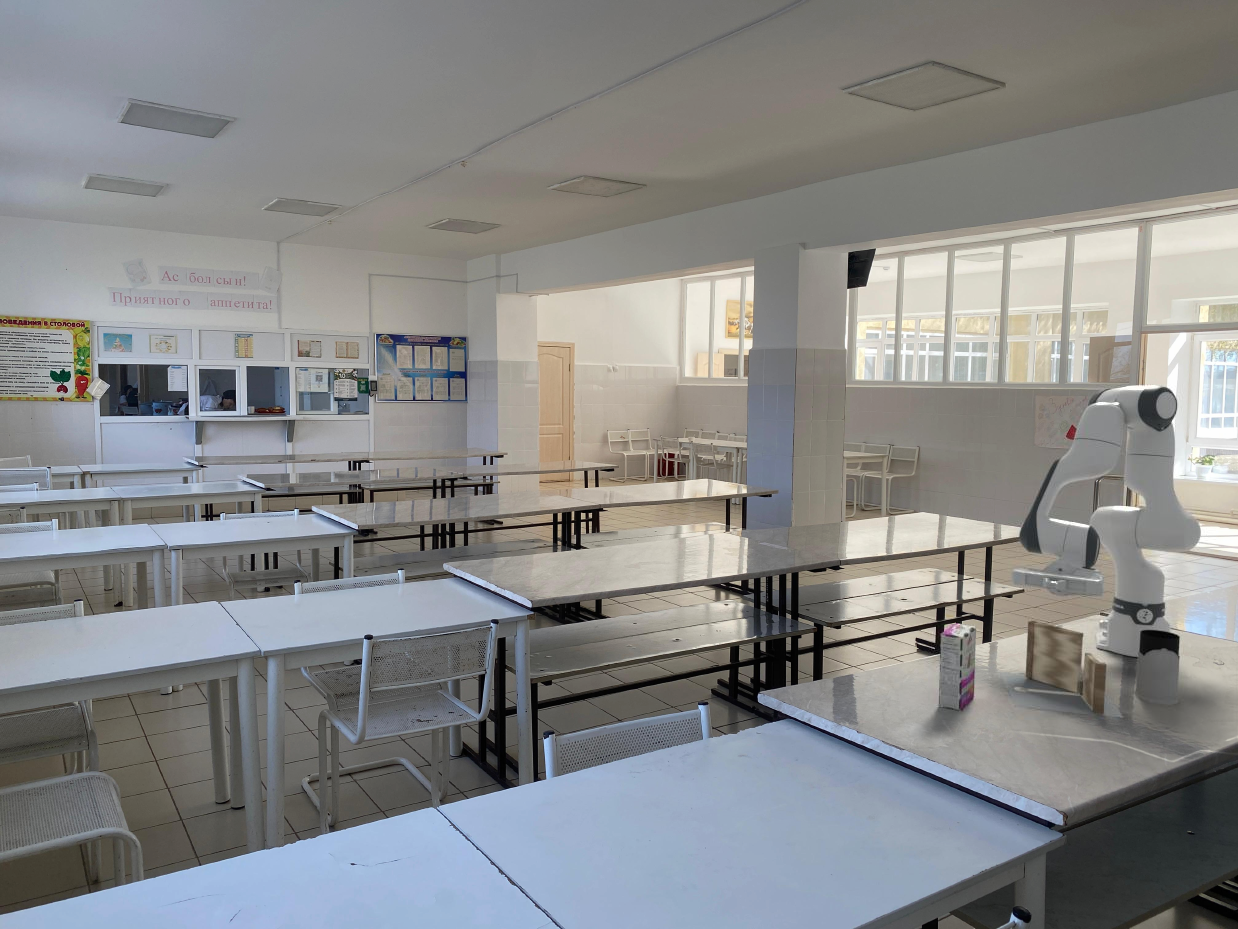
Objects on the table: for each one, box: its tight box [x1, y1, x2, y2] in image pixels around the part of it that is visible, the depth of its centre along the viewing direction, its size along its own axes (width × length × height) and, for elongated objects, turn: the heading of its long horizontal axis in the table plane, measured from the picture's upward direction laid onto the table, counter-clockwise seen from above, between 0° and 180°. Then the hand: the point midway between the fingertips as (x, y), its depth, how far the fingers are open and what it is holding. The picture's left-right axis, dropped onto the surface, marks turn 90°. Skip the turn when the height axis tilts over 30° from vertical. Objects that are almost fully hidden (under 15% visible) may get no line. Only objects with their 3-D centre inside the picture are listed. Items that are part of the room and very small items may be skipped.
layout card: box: [999, 671, 1125, 719], centre depth 192 cm, size 25×21×1 cm
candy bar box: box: [938, 623, 977, 712], centre depth 186 cm, size 11×5×16 cm, turn 143°
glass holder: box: [1133, 630, 1181, 706], centre depth 192 cm, size 9×14×15 cm, turn 161°
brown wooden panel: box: [1025, 620, 1084, 693], centre depth 197 cm, size 12×2×14 cm, turn 30°
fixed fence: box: [1080, 652, 1107, 714], centre depth 185 cm, size 13×2×11 cm, turn 165°
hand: (1051, 585), depth 202 cm, fingers closed
